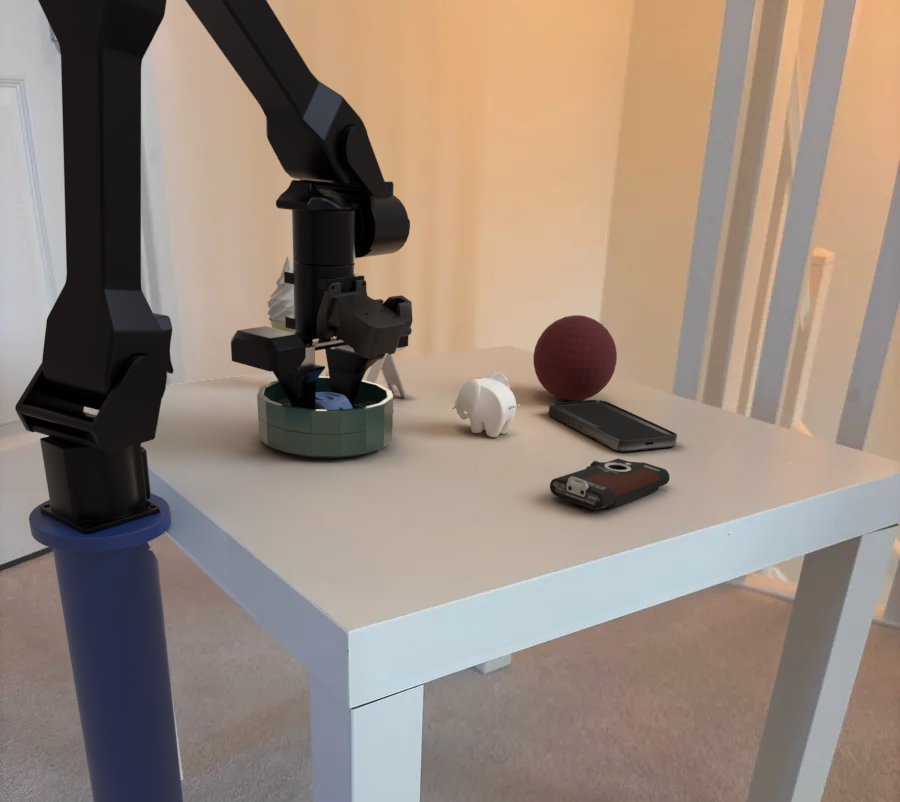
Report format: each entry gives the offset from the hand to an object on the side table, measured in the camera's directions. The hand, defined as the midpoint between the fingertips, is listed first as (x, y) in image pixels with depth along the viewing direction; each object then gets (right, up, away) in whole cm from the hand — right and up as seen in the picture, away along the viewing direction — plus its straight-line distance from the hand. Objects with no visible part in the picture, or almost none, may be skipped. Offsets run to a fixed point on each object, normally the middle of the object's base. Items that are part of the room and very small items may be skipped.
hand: (325, 426), depth 92 cm
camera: (+27, -8, -8) cm, 29 cm away
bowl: (0, -1, +1) cm, 2 cm away
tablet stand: (+3, +7, +17) cm, 19 cm away
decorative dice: (0, -1, +1) cm, 1 cm away
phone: (+30, +1, +10) cm, 32 cm away
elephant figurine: (+16, 0, +7) cm, 18 cm away
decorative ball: (+27, +7, +21) cm, 35 cm away
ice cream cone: (-7, +8, +19) cm, 22 cm away
